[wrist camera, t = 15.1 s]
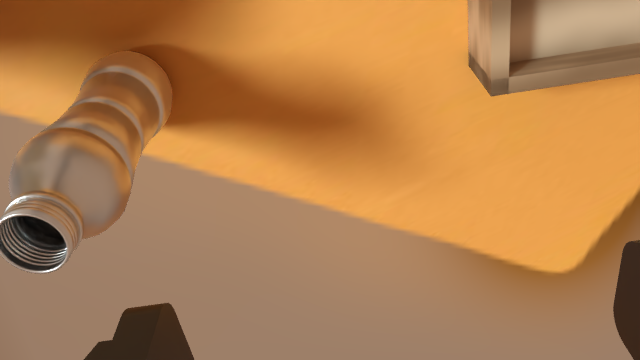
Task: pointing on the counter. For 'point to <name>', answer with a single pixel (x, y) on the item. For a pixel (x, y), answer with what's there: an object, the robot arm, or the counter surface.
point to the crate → (551, 42)
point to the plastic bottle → (83, 162)
